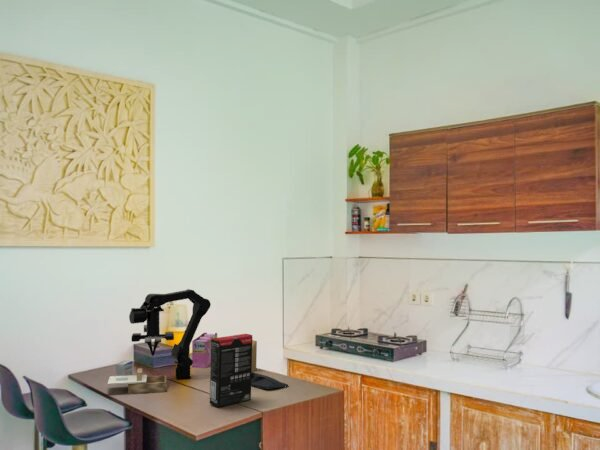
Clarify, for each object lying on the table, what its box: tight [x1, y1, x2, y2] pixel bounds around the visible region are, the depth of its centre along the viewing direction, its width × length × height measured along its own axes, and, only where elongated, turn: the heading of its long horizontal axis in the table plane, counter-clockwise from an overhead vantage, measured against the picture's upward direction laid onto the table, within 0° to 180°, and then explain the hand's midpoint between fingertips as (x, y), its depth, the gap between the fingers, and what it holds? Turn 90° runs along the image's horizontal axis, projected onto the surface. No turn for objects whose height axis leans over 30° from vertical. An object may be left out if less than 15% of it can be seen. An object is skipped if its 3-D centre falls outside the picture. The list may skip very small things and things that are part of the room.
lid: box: [107, 367, 148, 386], centre depth 257 cm, size 16×12×4 cm
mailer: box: [127, 375, 167, 395], centre depth 259 cm, size 16×12×4 cm
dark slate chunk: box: [251, 371, 289, 391], centre depth 268 cm, size 15×22×5 cm
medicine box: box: [115, 359, 134, 376], centre depth 272 cm, size 8×4×9 cm, turn 168°
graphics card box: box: [209, 333, 253, 408], centre depth 240 cm, size 17×7×27 cm, turn 133°
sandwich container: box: [252, 339, 258, 372], centre depth 289 cm, size 9×15×15 cm, turn 144°
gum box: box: [191, 332, 218, 369], centre depth 309 cm, size 24×8×14 cm, turn 174°
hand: (152, 355), depth 269 cm, fingers closed
